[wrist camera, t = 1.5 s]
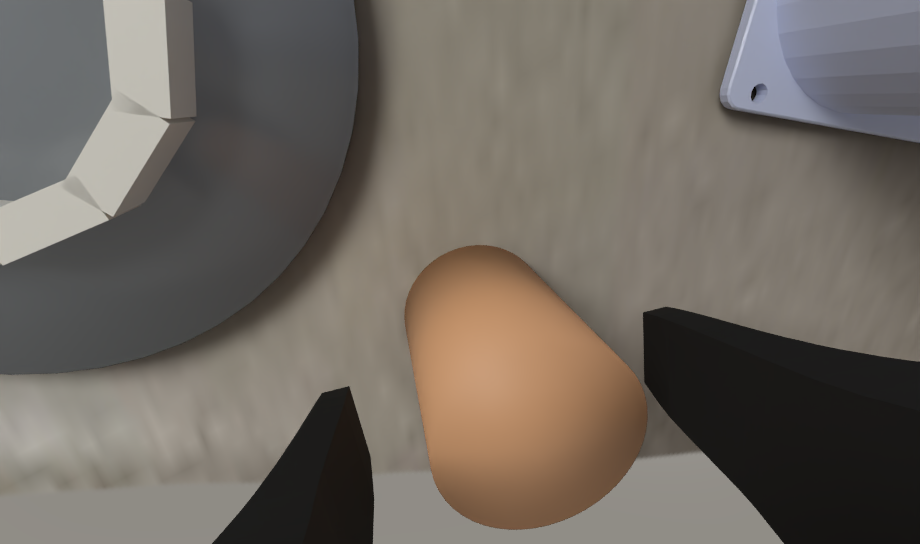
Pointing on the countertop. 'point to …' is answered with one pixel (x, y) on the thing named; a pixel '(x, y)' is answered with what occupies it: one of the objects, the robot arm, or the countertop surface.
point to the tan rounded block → (516, 393)
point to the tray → (206, 192)
